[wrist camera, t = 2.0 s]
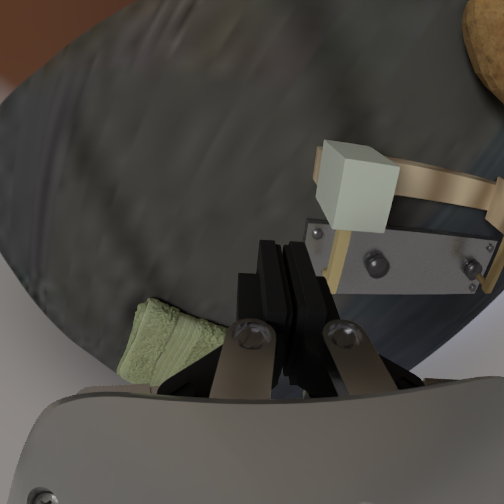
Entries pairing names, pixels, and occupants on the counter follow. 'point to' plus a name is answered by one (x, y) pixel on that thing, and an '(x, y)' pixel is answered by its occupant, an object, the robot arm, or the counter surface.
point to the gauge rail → (450, 197)
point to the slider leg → (353, 196)
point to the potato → (486, 42)
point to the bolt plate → (403, 259)
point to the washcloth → (165, 343)
